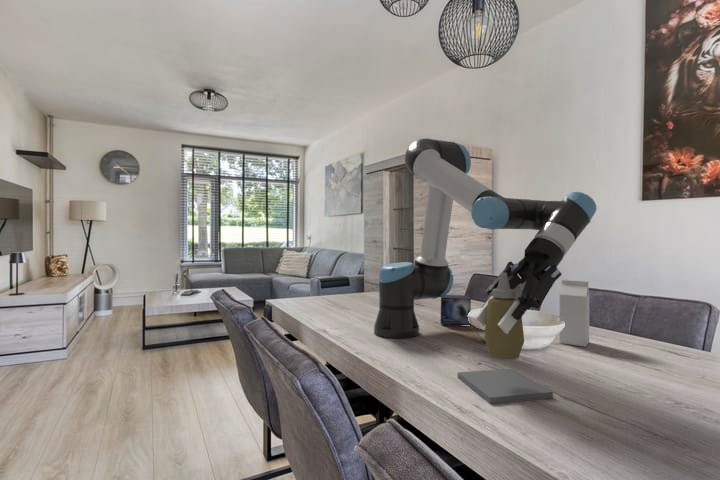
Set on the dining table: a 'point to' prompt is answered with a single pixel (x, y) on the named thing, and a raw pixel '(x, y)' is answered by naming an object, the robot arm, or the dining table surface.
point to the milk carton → (574, 312)
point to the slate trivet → (504, 385)
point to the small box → (455, 309)
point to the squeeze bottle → (497, 308)
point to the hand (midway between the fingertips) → (490, 325)
